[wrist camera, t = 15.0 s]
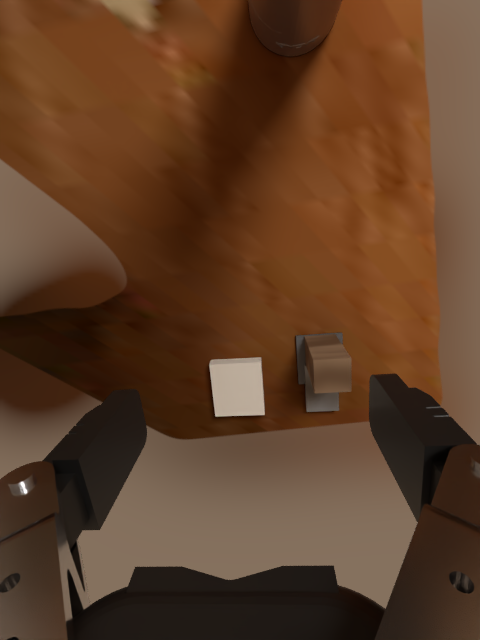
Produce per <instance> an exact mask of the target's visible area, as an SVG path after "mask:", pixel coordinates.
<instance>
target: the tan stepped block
mask: <svg viewBox="0 0 480 640" xmlns="http://www.w3.org/2000/svg"><path fill="white" fill-rule="evenodd" d="M304 338H305V361H306V364H304V372H305V394H306V411H307V412H317V411H339V392H351V357H350V355H349V354H348V352H347V351H346V349H345V348H344V346H343V345H342V343H341V342H340V340H339V339H338V337H337V336H336V335H335V334H330V335H316V336H304Z"/></svg>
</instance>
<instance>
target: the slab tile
mask: <svg viewBox="0 0 480 640" xmlns="http://www.w3.org/2000/svg"><path fill="white" fill-rule="evenodd" d="M209 367H210V376H211V384H212V392H213V401H214V409H215V417H217V416H249V415H265V405H264V391H263V376H262V362H261V357H259V358H239V359H219V360H211V361H210V364H209Z"/></svg>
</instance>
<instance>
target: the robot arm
mask: <svg viewBox="0 0 480 640" xmlns="http://www.w3.org/2000/svg"><path fill="white" fill-rule="evenodd" d="M341 2H342V0H248V4H249V16H250V20H251V24H252V27H253V29H254V32H255V34H256V36H257V37H258V39H259V40H260V41H261V43H262V44H263V45H264V46H265V47H267V48H268V49H269V50H270V51H272V52H274V53H276V54H279V55H283V56H298V55H301V54H305V53H307V52H309V51H311V50H312V49H314V48H315V47H316V46H318V45H319V44H320V43H321V42H322V41H323V40H324V38H325V37H326V36H327V35H328V33H329V32H330V30H331V28H332V26H333V24H334V22H335V19H336V16H337V13H338V10H339V7H340V5H341ZM369 420H370V427H371V431H372V434H373V436H374V438H375V440H376V442H377V444H378V446H379V448H380V450H381V452H382V454H383V456H384V458H385V460H386V461H387V464H388V466H389V468H390V470H391V472H392V473H393V475H394V477H395V479H396V481H397V483H398V485H399V487H400V489H401V491H402V493H403V495H404V497H405V499H406V501H407V503H408V505H409V507H410V509H411V511H412V512H413V515H414V517H415V518H416V521H417V522H418V523H417V525H416V528H415V531H414V534H413V536H412V539H411V542H410V544H409V547H408V550H407V553H406V555H405V558H404V561H403V564H402V566H401V569H400V572H399V574H398V577H397V580H396V583H395V585H394V588H393V591H392V593H391V596H390V599H389V602H388V605H387V607H386V609H385V608H383V607H382V606H380V605H379V604H377V603H376V602H374V601H373V600H371V599H369V598H368V597H366V596H364V595H362V594H360V593H358V592H355V591H353V590H351V589H348V588H345V587H342V586H339V585H337V580H336V575H335V570H334V566H281V567H277V568H274V569H271V570H267V571H263V572H260V573H256V574H253V575H250V576H246V577H242V578H239V579H235V580H225V579H222V578H218V577H215V576H212V575H208V574H205V573H202V572H198V571H195V570H191V569H188V568H185V567H135V569H134V572H133V575H132V577H131V580H130V583H129V585H128V587H125V588H122V589H120V590H117V591H115V592H112V593H111V594H109V595H107V596H105V597H103V598H101V599H99V600H98V601H96V602H94V603H93V604H92V605H90V600H89V595H88V589H87V583H86V577H85V572H84V566H83V561H82V555H81V550H80V545H79V542H78V537H79V535H80V533H81V532H82V530H100V528H101V527H102V525H103V523H104V521H105V519H106V517H107V515H108V513H109V511H110V510H111V508H112V506H113V504H114V502H115V500H116V498H117V496H118V495H119V493H120V491H121V489H122V487H123V485H124V483H125V481H126V479H127V478H128V476H129V474H130V472H131V470H132V468H133V466H134V464H135V462H136V461H137V459H138V457H139V455H140V453H141V451H142V449H143V447H144V445H145V442H146V437H147V428H146V423H145V418H144V414H143V409H142V405H141V400H140V396H139V393H138V391H137V390H136V389H130V390H115V391H113V392H112V393H111V394H110V395H109V396H108V397H107V398H106V400H105V401H104V402H103V403H102V404H101V405H99V406H97V407H96V408H94V409H93V410H91V411H90V412H88V413H86V414H85V415H84V416H83V418H81V420H80V421H79V422H78V423H77V424H76V426H74V427H73V428H72V429H71V431H70V432H69V434H67V435H66V436H65V437H64V438H63V439H62V440H61V441H60V443H58V445H57V446H56V447H55V448H54V449H53V450H52V451H51V452H50V453H49V454H48V455H47V457H46V458H45V459H44V460H43V461H39V462H33V463H29V464H26V465H23V466H21V467H19V468H17V469H15V470H13V471H11V472H10V473H8V474H7V475H5V476H4V477H3V478H1V479H0V640H480V445H477V444H476V442H475V441H474V440H473V439H472V438H471V437H470V436H469V435H468V434H467V433H466V432H465V431H464V430H463V429H462V428H461V427H460V426H459V425H458V424H457V423H456V422H455V421H454V420H453V418H451V417H449V415H448V413H447V412H446V411H445V410H444V409H443V408H441V407H440V405H439V404H438V403H437V402H436V401H435V400H434V399H433V398H432V397H431V396H430V395H428V394H427V393H425V392H423V391H421V390H419V389H417V388H408V386H407V385H406V384H405V383H404V382H403V381H402V380H401V378H400V377H399V376H398V375H397V374H380V375H371V377H370V392H369Z"/></svg>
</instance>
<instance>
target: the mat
mask: <svg viewBox="0 0 480 640" xmlns="http://www.w3.org/2000/svg"><path fill="white" fill-rule="evenodd" d="M330 334H335V335H336V336H337V337H338V339H339V340H340V342H341V343H342V333H328V334H314V335H299V336H296V349H297V368H298V384H305V372H304V364H306V361H305V338H304V336H316V335H330ZM342 345H343V343H342Z"/></svg>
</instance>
